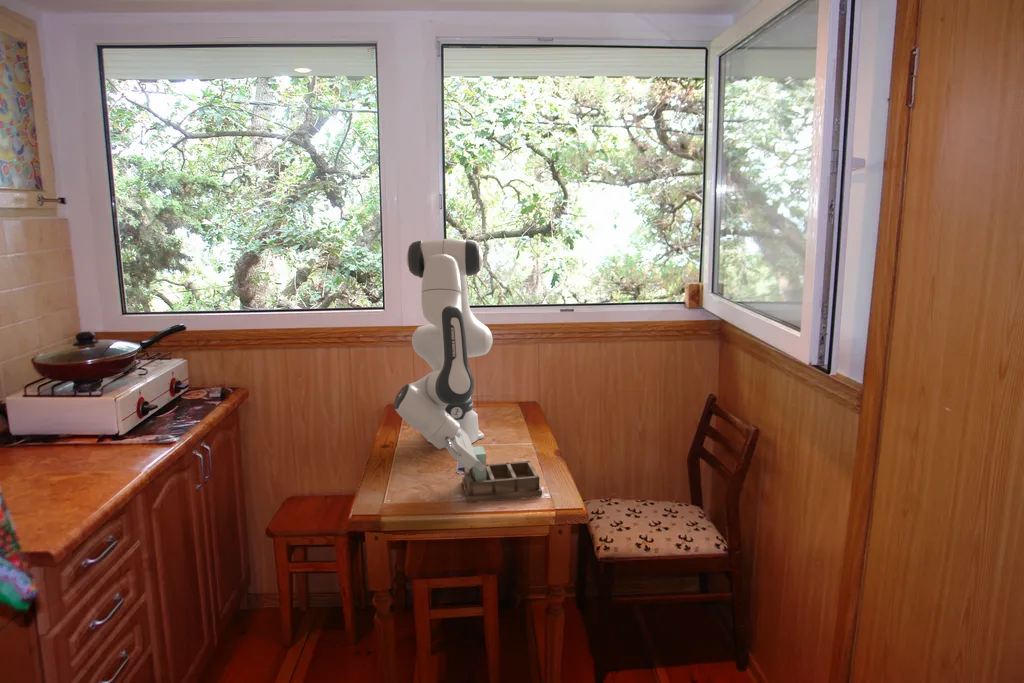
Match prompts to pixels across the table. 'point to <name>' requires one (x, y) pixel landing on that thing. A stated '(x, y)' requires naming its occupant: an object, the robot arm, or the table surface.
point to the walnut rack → (503, 482)
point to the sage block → (481, 457)
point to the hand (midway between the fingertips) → (481, 463)
